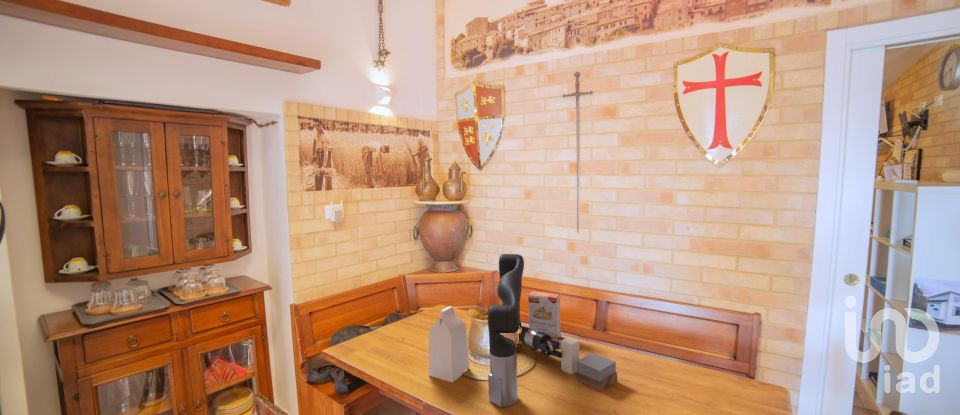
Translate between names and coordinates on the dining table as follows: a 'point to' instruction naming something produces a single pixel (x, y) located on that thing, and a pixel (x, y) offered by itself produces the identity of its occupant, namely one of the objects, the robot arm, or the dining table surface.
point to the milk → (448, 347)
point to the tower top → (596, 367)
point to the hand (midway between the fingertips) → (568, 352)
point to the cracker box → (545, 313)
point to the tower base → (596, 384)
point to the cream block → (569, 355)
